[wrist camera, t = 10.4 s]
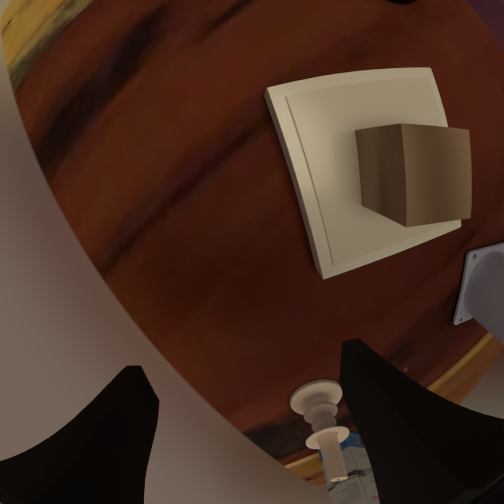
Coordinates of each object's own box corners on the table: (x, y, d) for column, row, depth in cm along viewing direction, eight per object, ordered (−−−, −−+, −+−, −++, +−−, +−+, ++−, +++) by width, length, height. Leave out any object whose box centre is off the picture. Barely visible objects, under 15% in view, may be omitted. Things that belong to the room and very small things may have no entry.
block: (415, 131, 14) (468, 130, 9) (420, 199, 15) (470, 218, 11) (354, 130, 14) (400, 123, 9) (361, 205, 15) (406, 227, 11)
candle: (311, 416, 25) (331, 498, 15) (278, 400, 24) (292, 493, 14) (350, 390, 24) (383, 473, 14) (320, 371, 23) (352, 467, 13)
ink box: (315, 447, 28) (333, 522, 17) (345, 428, 27) (370, 507, 15) (352, 455, 30) (372, 517, 19) (379, 438, 29) (404, 501, 18)
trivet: (415, 73, 14) (432, 67, 12) (445, 220, 18) (463, 227, 16) (264, 95, 15) (267, 86, 13) (315, 267, 19) (324, 281, 17)
